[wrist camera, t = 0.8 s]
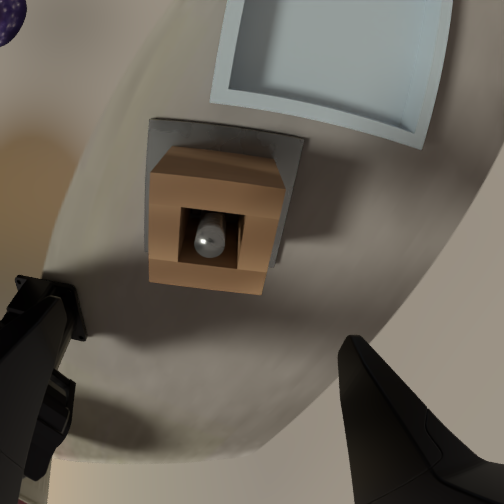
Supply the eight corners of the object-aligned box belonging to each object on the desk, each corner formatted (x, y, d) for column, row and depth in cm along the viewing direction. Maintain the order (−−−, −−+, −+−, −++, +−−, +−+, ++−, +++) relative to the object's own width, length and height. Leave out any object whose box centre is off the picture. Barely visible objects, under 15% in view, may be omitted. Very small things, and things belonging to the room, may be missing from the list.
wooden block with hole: (250, 275, 22) (253, 326, 18) (165, 265, 22) (150, 314, 17) (273, 159, 18) (286, 189, 14) (171, 145, 17) (150, 172, 13)
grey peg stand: (273, 264, 22) (283, 323, 17) (146, 248, 21) (122, 305, 16) (302, 138, 18) (329, 167, 13) (151, 118, 17) (115, 139, 12)
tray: (402, 140, 18) (421, 150, 16) (213, 98, 16) (209, 102, 14) (433, -17, 11) (455, -23, 9) (249, -76, 10) (250, -94, 8)
